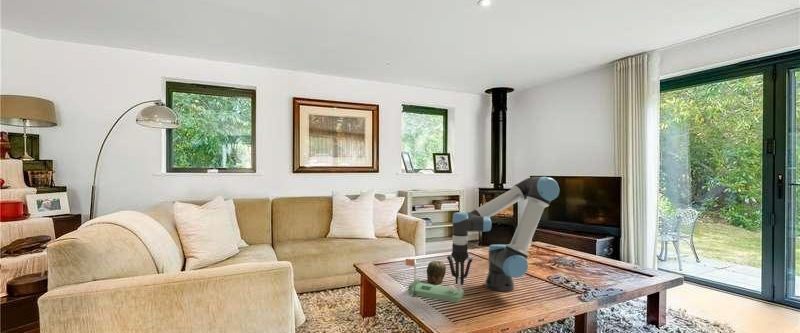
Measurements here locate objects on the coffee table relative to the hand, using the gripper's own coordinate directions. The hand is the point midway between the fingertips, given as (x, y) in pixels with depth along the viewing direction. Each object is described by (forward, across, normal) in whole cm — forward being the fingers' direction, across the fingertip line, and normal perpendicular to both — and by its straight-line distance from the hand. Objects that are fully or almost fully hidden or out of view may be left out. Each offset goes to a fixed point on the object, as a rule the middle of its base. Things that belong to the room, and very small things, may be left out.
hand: (459, 290), depth 166 cm
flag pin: (+4, +23, +7) cm, 25 cm away
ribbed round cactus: (+4, +18, -18) cm, 26 cm away
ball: (0, +4, 0) cm, 4 cm away
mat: (+4, +12, 0) cm, 13 cm away
